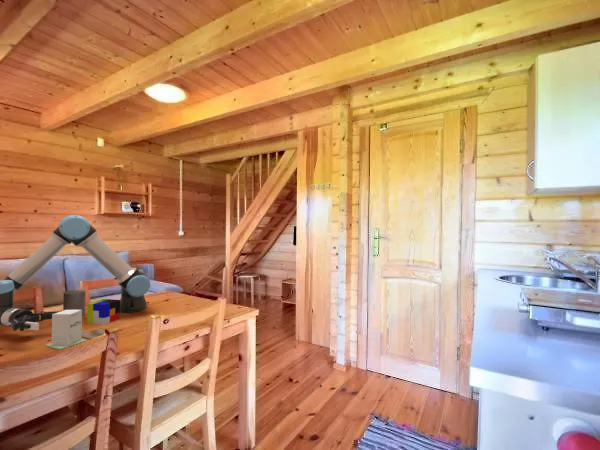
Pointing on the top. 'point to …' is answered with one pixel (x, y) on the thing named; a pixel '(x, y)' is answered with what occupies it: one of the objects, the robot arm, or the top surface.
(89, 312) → the puzzle toy
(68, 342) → the supplement box
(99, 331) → the walnut pad
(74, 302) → the pillar candle
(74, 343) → the sage pad
